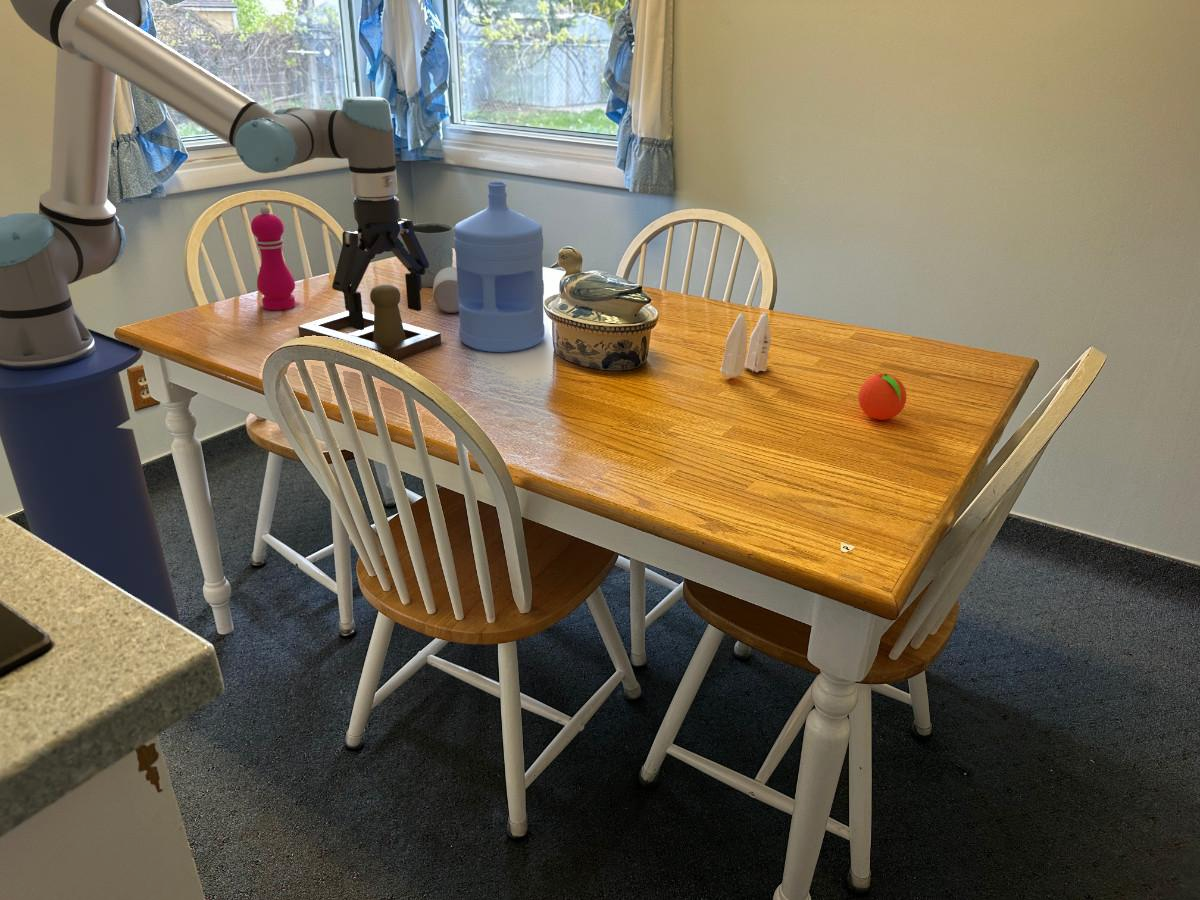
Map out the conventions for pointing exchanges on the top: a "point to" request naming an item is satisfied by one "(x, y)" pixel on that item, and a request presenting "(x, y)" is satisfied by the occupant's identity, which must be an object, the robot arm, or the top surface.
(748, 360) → the shaker set
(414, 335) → the holder
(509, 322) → the water jug
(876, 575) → the top surface
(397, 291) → the olive peg shaker
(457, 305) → the ceramic mug
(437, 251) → the grey tapered cup
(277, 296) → the pepper mill
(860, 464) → the top surface
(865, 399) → the clementine
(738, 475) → the top surface
